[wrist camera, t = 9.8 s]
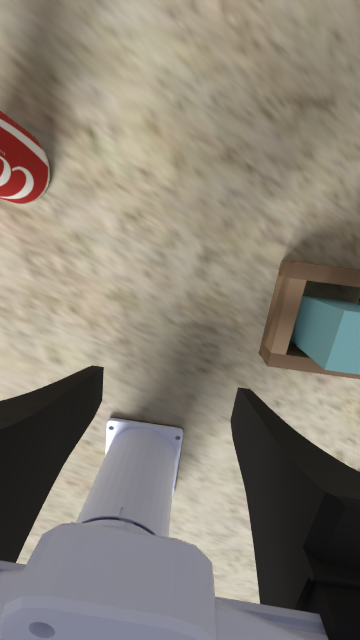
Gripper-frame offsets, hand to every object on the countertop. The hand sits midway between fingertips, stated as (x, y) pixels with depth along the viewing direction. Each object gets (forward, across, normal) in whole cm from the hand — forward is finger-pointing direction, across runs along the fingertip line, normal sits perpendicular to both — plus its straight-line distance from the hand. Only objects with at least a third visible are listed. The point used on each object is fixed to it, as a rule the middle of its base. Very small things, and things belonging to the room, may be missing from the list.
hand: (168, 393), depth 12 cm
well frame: (+9, -12, -4) cm, 16 cm away
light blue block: (+9, -12, -3) cm, 15 cm away
